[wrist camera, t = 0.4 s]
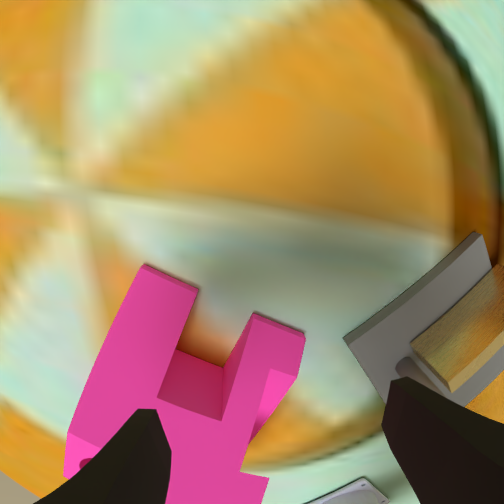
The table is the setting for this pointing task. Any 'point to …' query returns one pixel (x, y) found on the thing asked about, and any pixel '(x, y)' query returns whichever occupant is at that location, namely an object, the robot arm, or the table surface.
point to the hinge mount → (424, 325)
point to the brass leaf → (465, 333)
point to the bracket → (185, 392)
